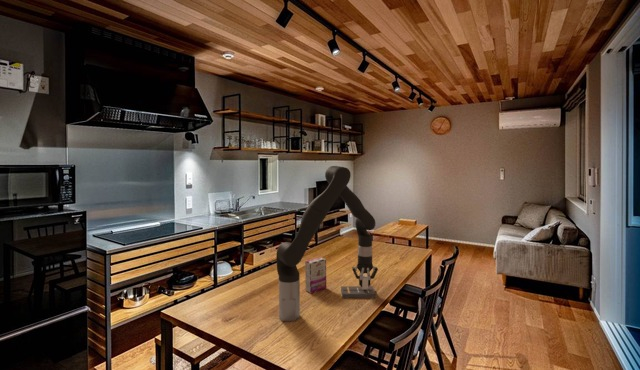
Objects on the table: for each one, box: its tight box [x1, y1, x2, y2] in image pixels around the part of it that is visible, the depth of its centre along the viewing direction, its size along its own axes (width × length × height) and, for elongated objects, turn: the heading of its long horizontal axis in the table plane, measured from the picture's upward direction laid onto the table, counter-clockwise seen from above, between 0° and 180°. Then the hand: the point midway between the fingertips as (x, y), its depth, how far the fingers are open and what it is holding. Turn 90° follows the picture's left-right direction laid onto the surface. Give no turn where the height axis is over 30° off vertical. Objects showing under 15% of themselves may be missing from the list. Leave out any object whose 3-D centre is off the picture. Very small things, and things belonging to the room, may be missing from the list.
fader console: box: [340, 285, 377, 299], centre depth 174 cm, size 10×17×2 cm, turn 91°
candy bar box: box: [304, 256, 327, 294], centre depth 179 cm, size 11×5×16 cm, turn 129°
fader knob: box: [362, 274, 368, 290], centre depth 173 cm, size 4×3×7 cm
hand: (364, 286), depth 173 cm, fingers closed on fader knob, 3 cm apart
